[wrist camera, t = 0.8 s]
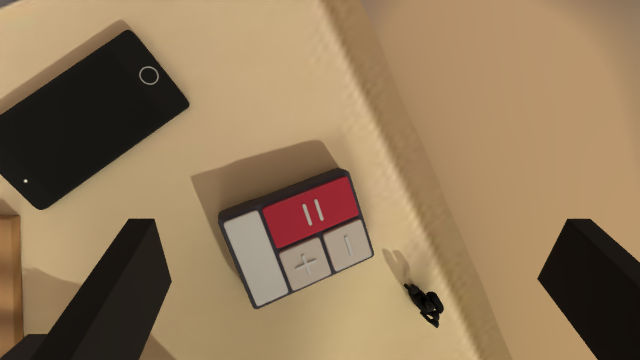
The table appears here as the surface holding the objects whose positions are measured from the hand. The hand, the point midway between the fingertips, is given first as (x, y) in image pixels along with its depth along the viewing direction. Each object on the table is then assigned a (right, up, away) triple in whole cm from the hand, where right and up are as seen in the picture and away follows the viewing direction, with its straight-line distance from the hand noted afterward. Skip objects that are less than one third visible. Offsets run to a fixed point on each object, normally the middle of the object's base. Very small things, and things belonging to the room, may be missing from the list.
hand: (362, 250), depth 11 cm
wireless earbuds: (+12, -13, +35) cm, 39 cm away
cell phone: (-24, +8, +23) cm, 35 cm away
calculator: (-4, -4, +30) cm, 31 cm away
